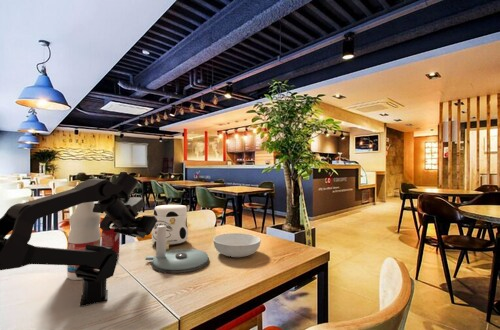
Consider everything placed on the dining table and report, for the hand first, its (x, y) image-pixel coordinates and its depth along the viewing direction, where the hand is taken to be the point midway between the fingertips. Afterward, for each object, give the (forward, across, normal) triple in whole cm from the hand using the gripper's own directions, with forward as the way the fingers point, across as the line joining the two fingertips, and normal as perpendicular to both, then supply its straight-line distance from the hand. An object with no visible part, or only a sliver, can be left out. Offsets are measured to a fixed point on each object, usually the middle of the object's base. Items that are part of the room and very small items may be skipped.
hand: (140, 236), depth 89 cm
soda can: (+18, +24, +1) cm, 30 cm away
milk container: (+34, +11, -15) cm, 39 cm away
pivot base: (+20, -7, -2) cm, 21 cm away
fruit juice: (+5, +17, +14) cm, 23 cm away
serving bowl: (+32, -25, -13) cm, 43 cm away
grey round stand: (+18, -7, -1) cm, 20 cm away
